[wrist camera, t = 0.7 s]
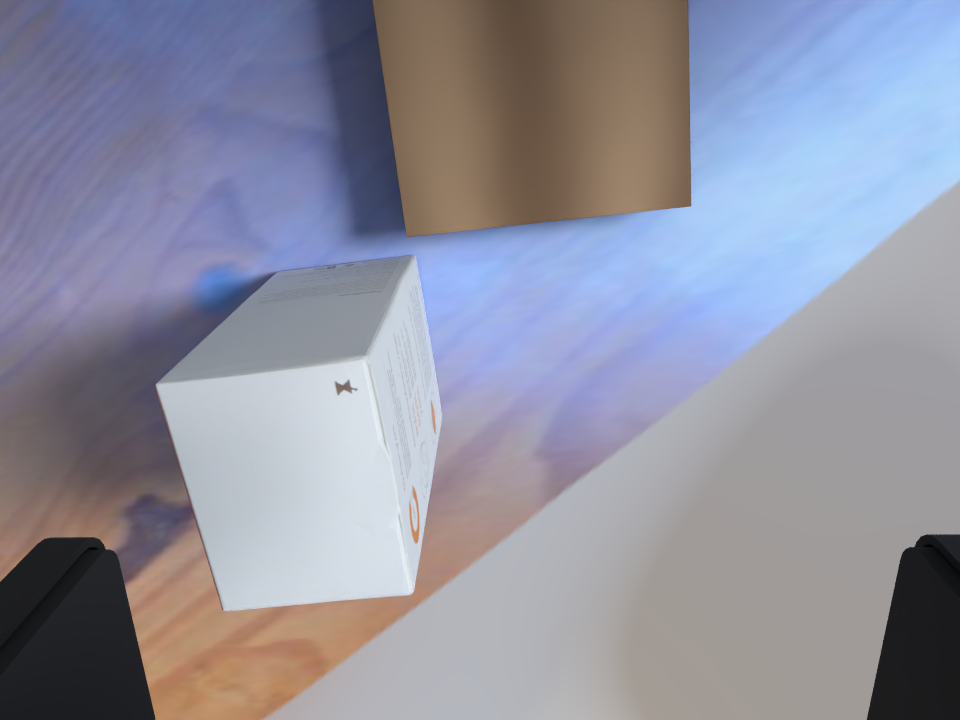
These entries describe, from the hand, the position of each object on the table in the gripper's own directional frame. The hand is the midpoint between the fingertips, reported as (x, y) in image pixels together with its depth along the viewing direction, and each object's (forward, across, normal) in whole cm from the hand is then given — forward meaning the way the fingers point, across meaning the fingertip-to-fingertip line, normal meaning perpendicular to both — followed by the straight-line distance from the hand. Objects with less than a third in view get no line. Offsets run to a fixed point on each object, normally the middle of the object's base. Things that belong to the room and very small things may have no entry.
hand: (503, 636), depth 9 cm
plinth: (+25, -1, -6) cm, 26 cm away
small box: (+25, +6, +5) cm, 26 cm away
